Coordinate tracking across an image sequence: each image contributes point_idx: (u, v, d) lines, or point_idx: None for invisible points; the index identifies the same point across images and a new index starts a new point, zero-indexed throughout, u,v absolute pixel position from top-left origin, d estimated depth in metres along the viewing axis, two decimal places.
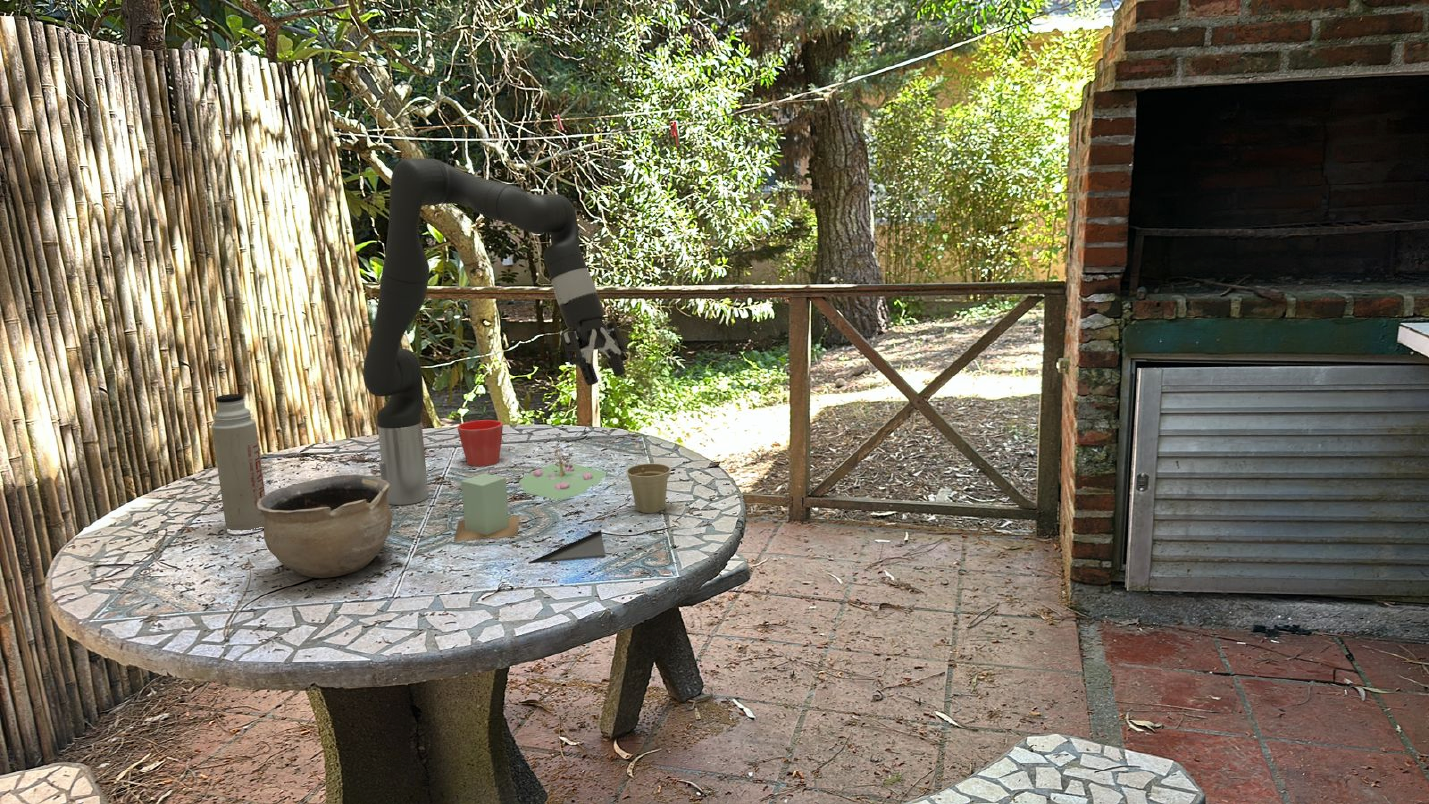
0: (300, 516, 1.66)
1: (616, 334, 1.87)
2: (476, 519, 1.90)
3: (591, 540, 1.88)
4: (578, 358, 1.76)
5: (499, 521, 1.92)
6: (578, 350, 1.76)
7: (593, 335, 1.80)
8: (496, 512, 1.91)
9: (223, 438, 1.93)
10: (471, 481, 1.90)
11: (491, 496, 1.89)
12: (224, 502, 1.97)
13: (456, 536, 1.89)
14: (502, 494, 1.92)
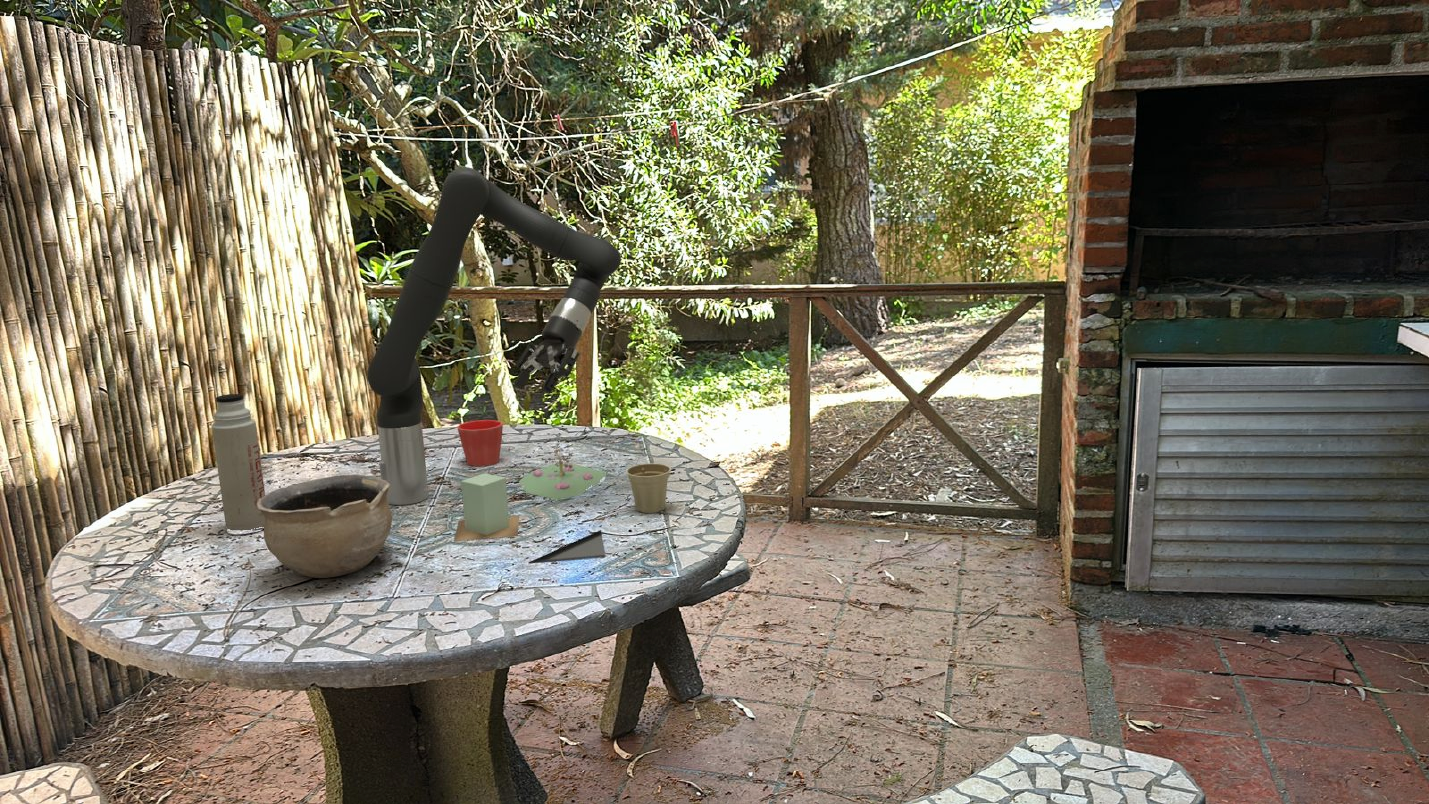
0: (300, 516, 1.66)
1: None
2: (476, 519, 1.90)
3: (591, 540, 1.88)
4: (569, 374, 2.00)
5: (499, 521, 1.92)
6: None
7: None
8: (496, 512, 1.91)
9: (223, 438, 1.93)
10: (471, 481, 1.90)
11: (491, 496, 1.89)
12: (224, 502, 1.97)
13: (456, 536, 1.89)
14: (502, 494, 1.92)
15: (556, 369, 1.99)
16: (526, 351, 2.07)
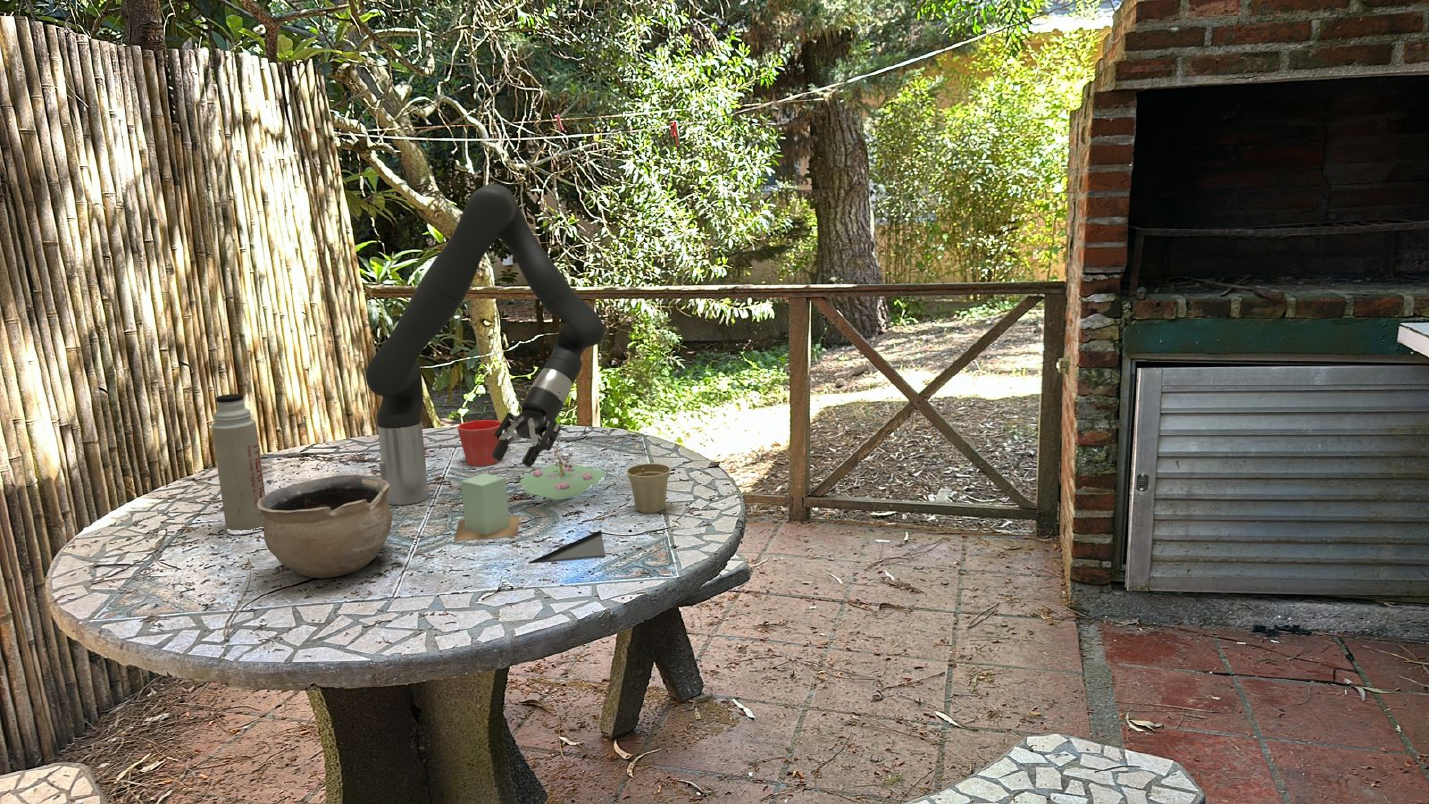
0: (300, 516, 1.66)
1: None
2: (476, 519, 1.90)
3: (591, 540, 1.88)
4: None
5: (499, 521, 1.92)
6: None
7: None
8: (496, 512, 1.91)
9: (223, 438, 1.93)
10: (471, 481, 1.90)
11: (491, 496, 1.89)
12: (224, 502, 1.97)
13: (456, 536, 1.89)
14: (502, 494, 1.92)
15: (537, 443, 1.95)
16: (505, 422, 2.03)
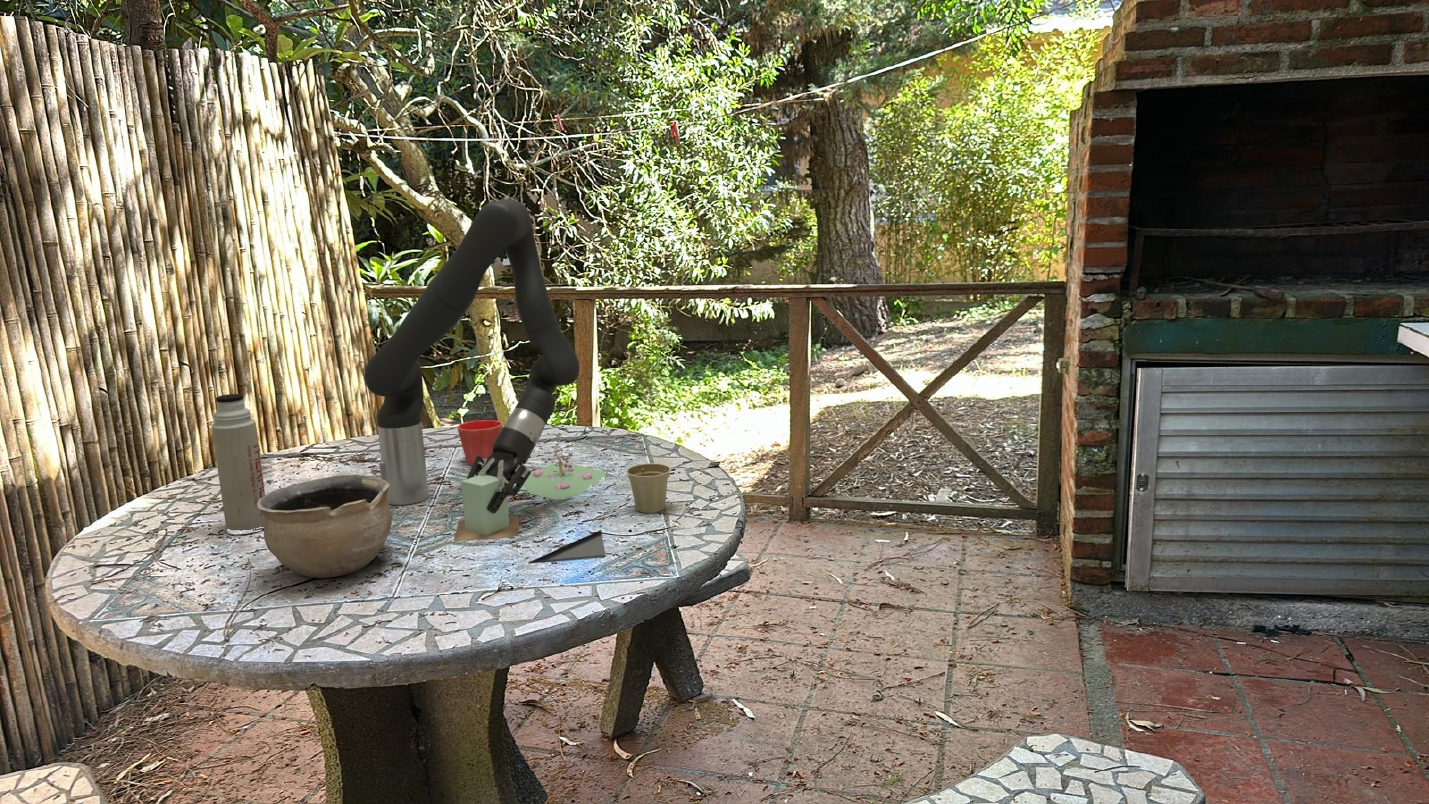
0: (300, 516, 1.66)
1: None
2: (476, 519, 1.90)
3: (591, 540, 1.88)
4: (516, 494, 1.90)
5: (498, 521, 1.92)
6: None
7: None
8: (496, 512, 1.91)
9: (223, 438, 1.93)
10: (471, 481, 1.90)
11: (491, 496, 1.89)
12: (224, 502, 1.97)
13: (456, 536, 1.89)
14: None
15: (503, 488, 1.90)
16: (475, 466, 1.97)
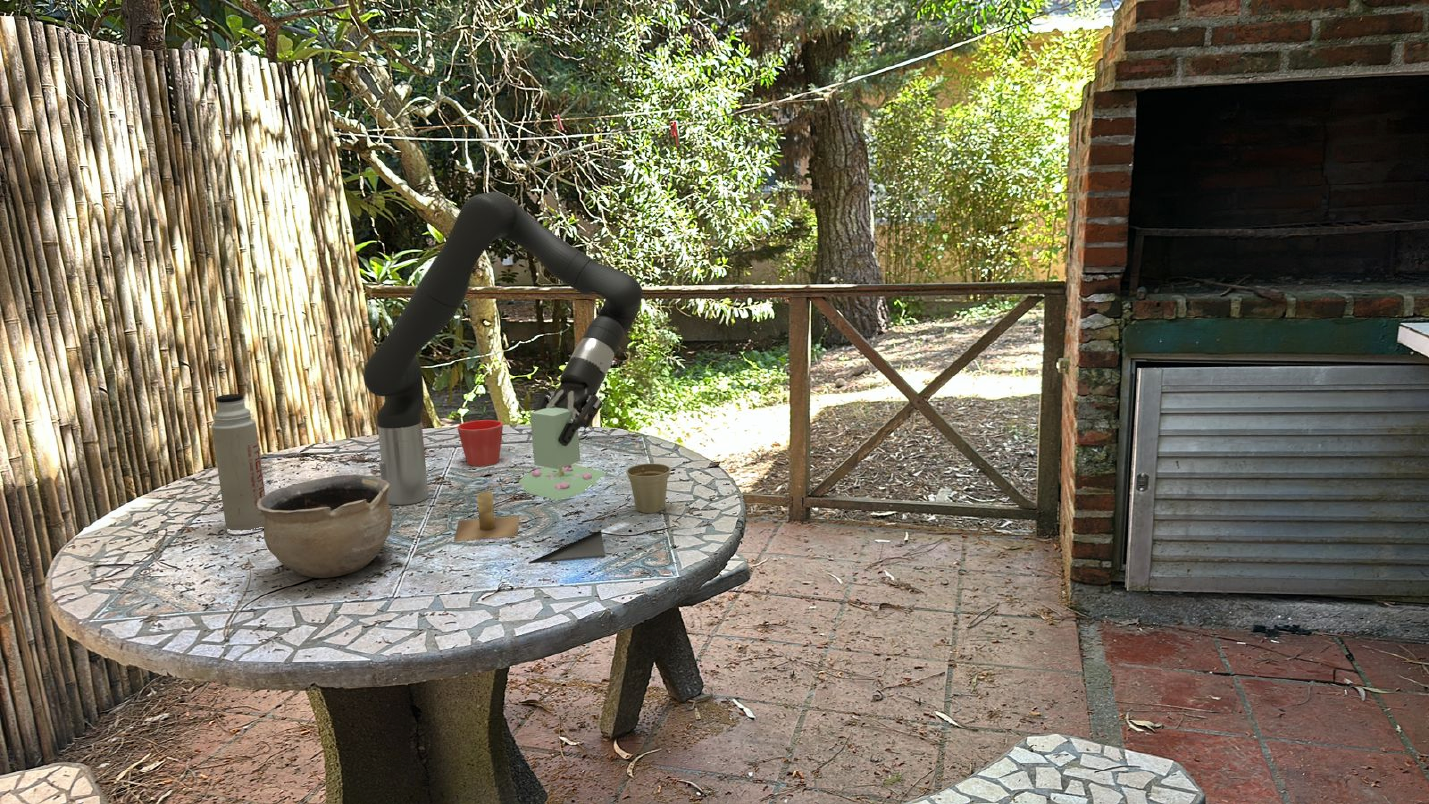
0: (300, 516, 1.66)
1: None
2: (546, 452, 1.80)
3: (591, 540, 1.88)
4: (588, 425, 1.80)
5: (570, 454, 1.82)
6: None
7: None
8: (567, 445, 1.81)
9: (223, 438, 1.93)
10: (540, 412, 1.80)
11: (562, 427, 1.79)
12: (224, 502, 1.97)
13: (456, 536, 1.89)
14: None
15: (574, 419, 1.80)
16: (542, 399, 1.87)
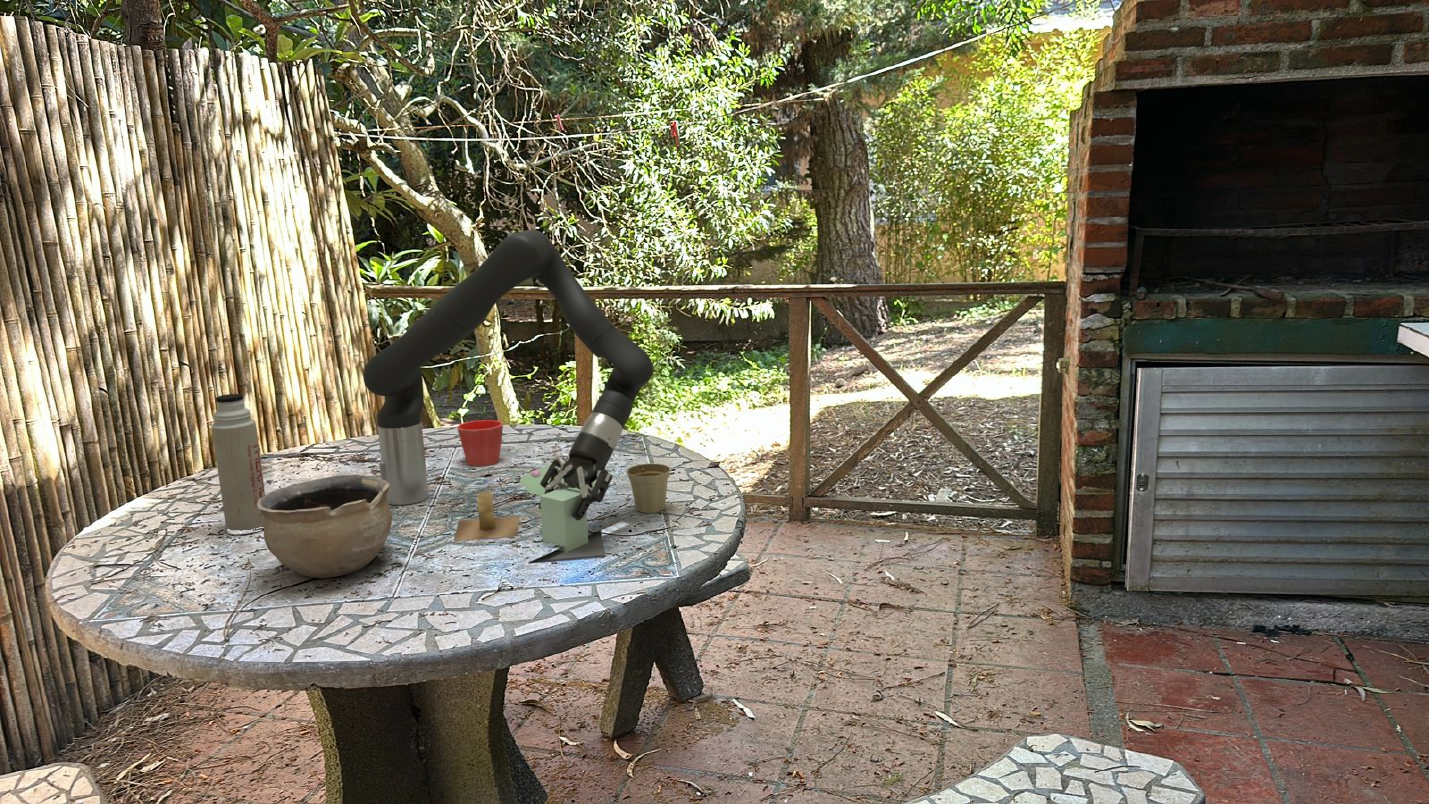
0: (300, 516, 1.66)
1: None
2: (555, 535, 1.83)
3: (591, 540, 1.88)
4: None
5: (578, 537, 1.85)
6: None
7: None
8: (576, 528, 1.84)
9: (223, 438, 1.93)
10: (550, 496, 1.83)
11: (571, 511, 1.82)
12: (224, 502, 1.97)
13: (456, 536, 1.89)
14: None
15: (588, 494, 1.82)
16: (551, 469, 1.90)
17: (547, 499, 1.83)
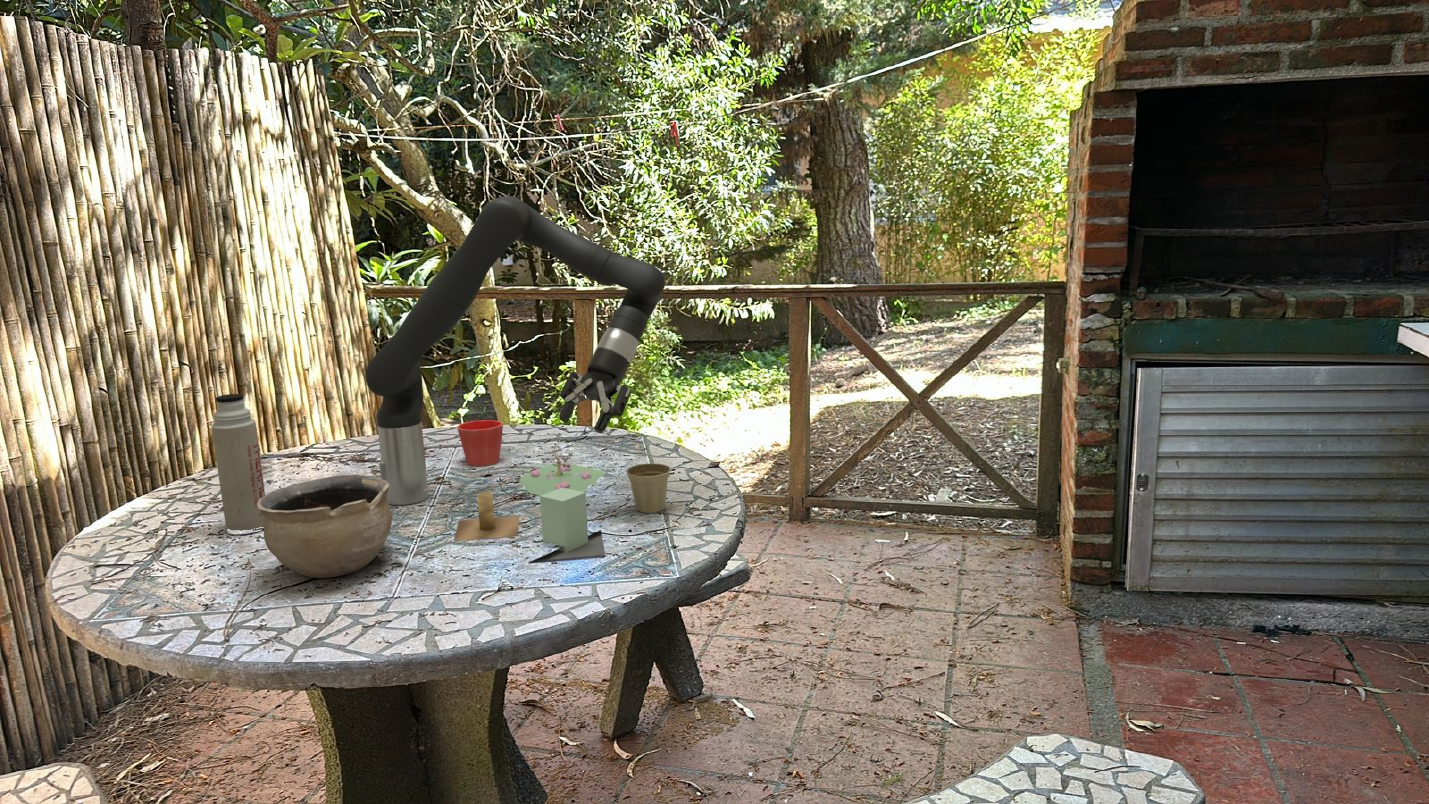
0: (300, 516, 1.66)
1: None
2: (555, 535, 1.83)
3: (591, 540, 1.88)
4: (622, 414, 1.92)
5: (578, 537, 1.85)
6: None
7: None
8: (576, 528, 1.84)
9: (223, 438, 1.93)
10: (550, 496, 1.83)
11: (571, 511, 1.82)
12: (224, 502, 1.97)
13: (456, 536, 1.89)
14: (582, 509, 1.85)
15: (609, 409, 1.91)
16: (569, 381, 1.97)
17: (547, 499, 1.83)
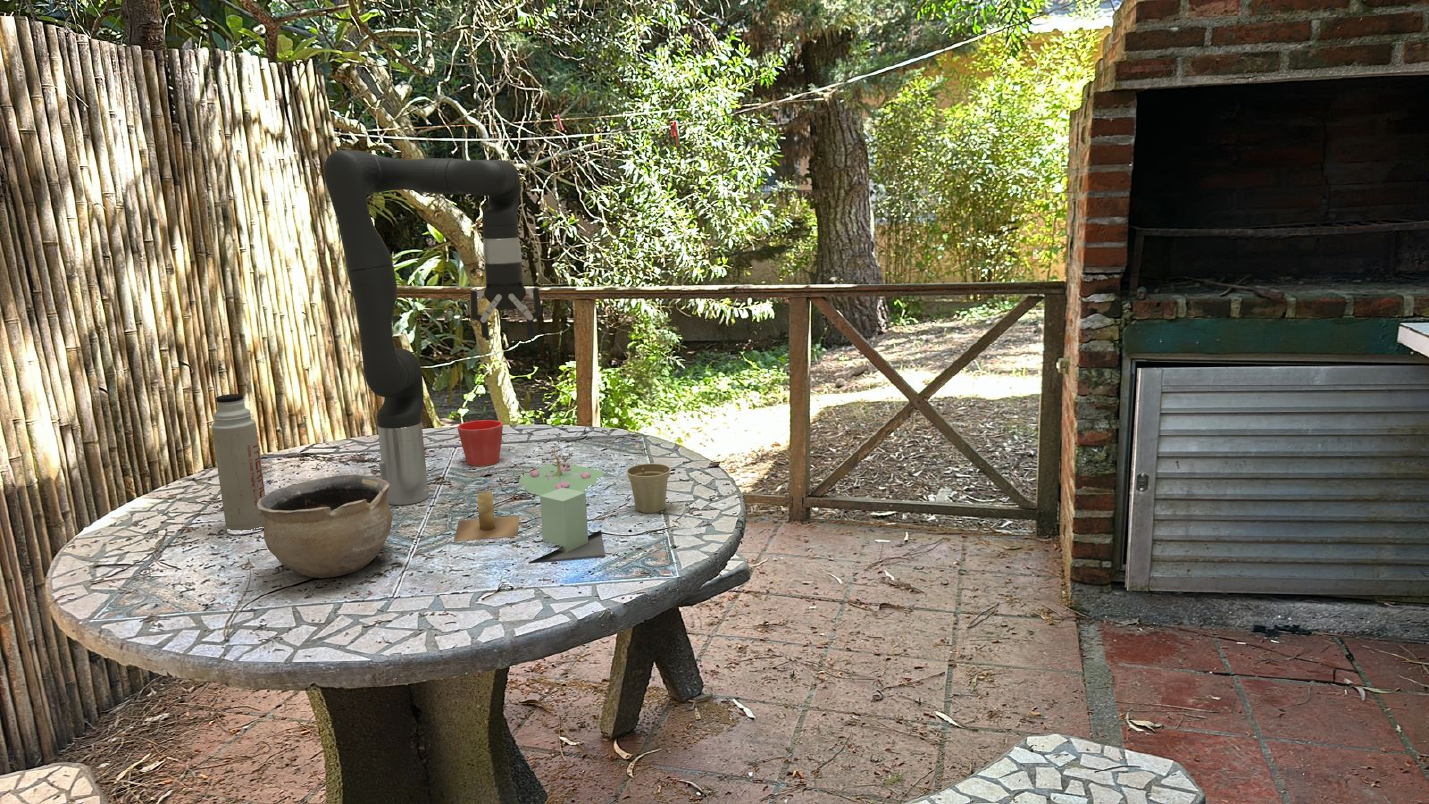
0: (300, 516, 1.66)
1: None
2: (555, 535, 1.83)
3: (591, 540, 1.88)
4: (541, 312, 2.05)
5: (578, 537, 1.85)
6: None
7: None
8: (576, 528, 1.84)
9: (223, 438, 1.93)
10: (550, 496, 1.83)
11: (571, 511, 1.82)
12: (224, 502, 1.97)
13: (456, 536, 1.89)
14: (582, 509, 1.85)
15: (532, 315, 2.03)
16: (475, 302, 2.00)
17: (547, 499, 1.83)
